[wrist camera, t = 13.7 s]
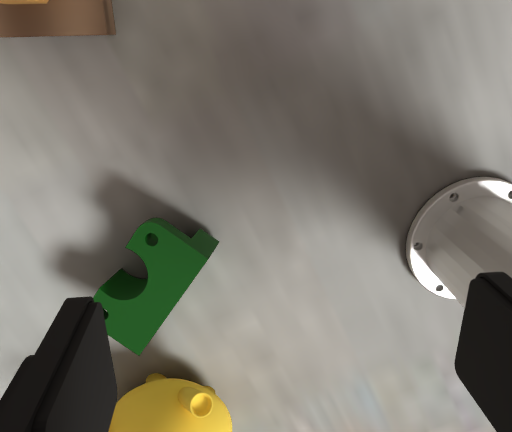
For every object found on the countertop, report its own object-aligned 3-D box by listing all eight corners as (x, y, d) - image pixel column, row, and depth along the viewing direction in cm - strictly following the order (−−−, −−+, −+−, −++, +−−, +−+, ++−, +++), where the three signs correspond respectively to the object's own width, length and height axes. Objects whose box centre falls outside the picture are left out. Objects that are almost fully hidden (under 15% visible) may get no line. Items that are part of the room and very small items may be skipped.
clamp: (168, 208, 44) (159, 197, 35) (217, 242, 45) (221, 240, 36) (94, 309, 43) (65, 325, 34) (146, 344, 43) (130, 369, 34)
